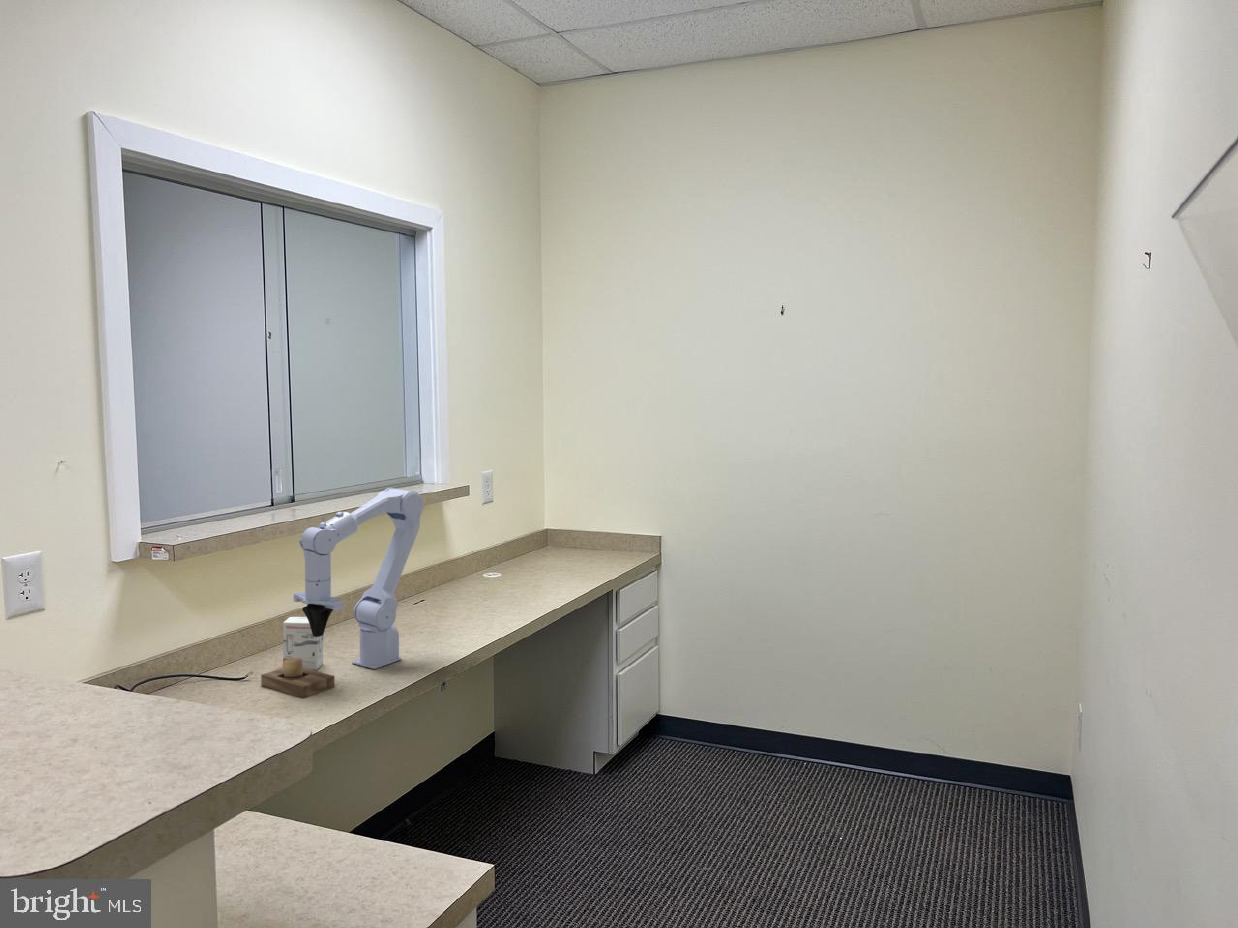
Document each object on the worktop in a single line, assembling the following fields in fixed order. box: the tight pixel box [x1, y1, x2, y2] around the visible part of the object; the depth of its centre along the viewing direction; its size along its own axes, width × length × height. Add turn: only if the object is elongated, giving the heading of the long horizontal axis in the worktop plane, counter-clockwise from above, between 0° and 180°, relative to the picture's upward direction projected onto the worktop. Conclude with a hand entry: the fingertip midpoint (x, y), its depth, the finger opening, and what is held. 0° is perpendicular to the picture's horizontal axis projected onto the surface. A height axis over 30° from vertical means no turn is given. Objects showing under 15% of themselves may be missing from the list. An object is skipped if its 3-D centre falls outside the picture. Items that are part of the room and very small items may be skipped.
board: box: [260, 667, 336, 698], centre depth 212 cm, size 9×14×2 cm, turn 59°
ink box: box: [282, 616, 324, 671], centre depth 225 cm, size 9×5×12 cm, turn 91°
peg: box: [284, 658, 303, 680], centre depth 212 cm, size 4×4×6 cm
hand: (318, 635), depth 216 cm, fingers closed
